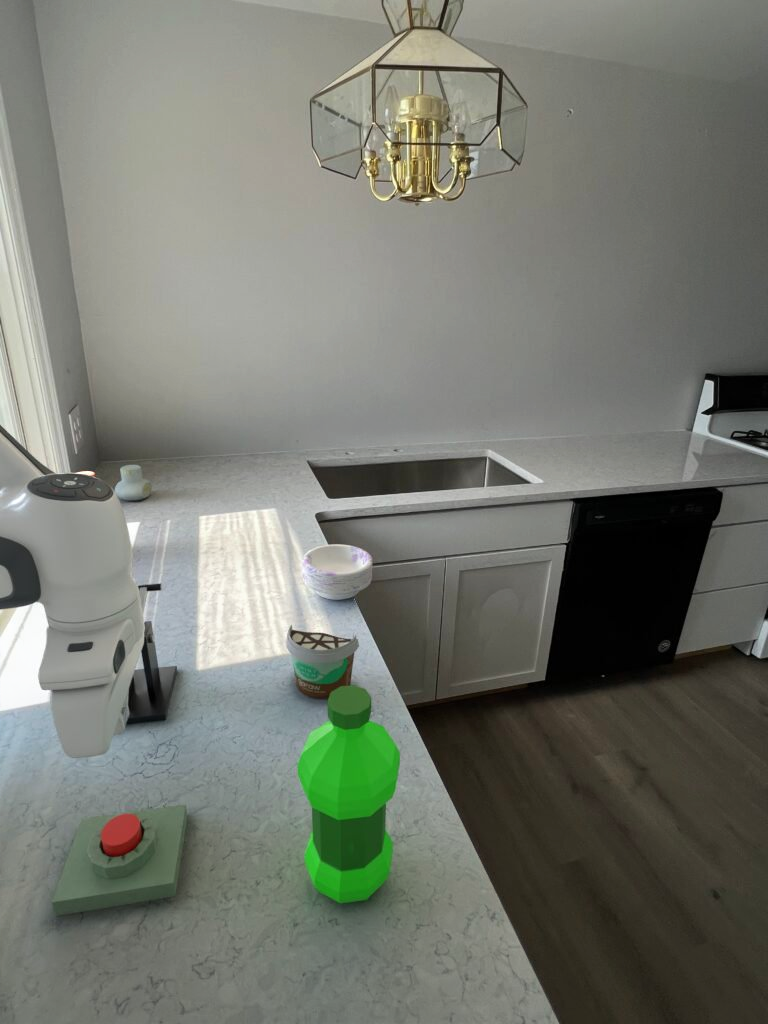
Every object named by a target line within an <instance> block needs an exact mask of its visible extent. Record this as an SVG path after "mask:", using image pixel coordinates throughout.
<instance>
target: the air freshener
mask: <svg viewBox="0 0 768 1024" xmlns="http://www.w3.org/2000/svg"><path fill="white" fill-rule="evenodd" d="M119 472H120V478H121V480H120V481H118V483H117V484H116V485H115V487H114V492H115V493H116V495H117V497H118V499H121V500H124V501H128V502H131V501H132V502H135V501H140V500H145V499H146V498H147V497H149V495H150V494H151V492H152V489H153V484H152V482H151V481H149V480H148V479H147V478H143V471H142V466H140V465H139V464H127V465H126V464H125V465H123V466H121V467H120V468H119Z"/></svg>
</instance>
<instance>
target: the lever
mask: <svg viewBox="0 0 768 1024" xmlns="http://www.w3.org/2000/svg"><path fill="white" fill-rule="evenodd" d="M137 585H138V588H139V594H140V600H141V606H142V612H143V613H145V612H144V611H145V607H146V602H147V598H148V593H149V592H158V591H159V592H160V591H162V589H163V584H162V583H147V584H145V583H144V584H137Z"/></svg>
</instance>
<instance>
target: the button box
mask: <svg viewBox="0 0 768 1024" xmlns="http://www.w3.org/2000/svg"><path fill="white" fill-rule="evenodd" d="M122 814H133V815H135V816H137V817H138V819H139V821H140V826H141V831H142V837H141V840H140V842H139V844H138V845H137V846H136V847H135V848H134V849H133V850H132V851H131V852H129V853H127V854H125V855H122V856H118V857H113V856H109V855H107V854H106V853H105V851H104V849H103V845H102V841H101V832H102V830H103V828H104V826H105V825H106V824H107V823H108V822H109V821H110V820H111V819H113V818H114V817H116V816H119V815H122ZM188 818H189V817H188V810H187V804H178V805H172V806H171V805H170V806H165V807H157V808H150V809H144V810H143V809H142V810H133V811H124V812H120V813H114V814H106V815H99V816H91V817H84V818H81V819H80V821H79V824H78V827H77V830H76V833H75V836H74V839H73V841H72V844H71V847H70V850H69V852H68V855H67V859H66V861H65V863H64V867H63V870H62V872H61V876H60V878H59V881H58V884H57V887H56V890H55V893H54V896H53V899H52V901H51V904H52V908H53V911H54V914H55V917H59V916H65V915H71V914H77V913H83V912H88V911H94V910H100V909H107V908H113V907H119V906H125V905H131V904H137V903H143V902H149V901H156V900H160V899H161V900H162V899H166V898H172V897H176V896H177V895H176V894H177V888H178V881H179V876H180V869H181V862H182V856H183V851H184V850H183V849H184V844H185V842H184V841H185V836H186V831H187V824H188Z"/></svg>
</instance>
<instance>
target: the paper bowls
mask: <svg viewBox="0 0 768 1024" xmlns="http://www.w3.org/2000/svg"><path fill="white" fill-rule="evenodd" d="M372 578H373V557H372V555H371V554H370V553H369V552H367V551H366V550H365V549H363V548H360V547H359V546H354V545H349V544H343V543H342V544H341V543H339V544H338V543H336V544H335V543H333V544H332V543H331V544H324V545H320V546H316V547H313V548H312V549H310V550H308V551H307V552H306V553H305V554H304V555H303V557H302V580H303V582H304V584H305V585H306V586H307V587H308V588H310V589H312V590H313V591H314V592H315V593H316V594H317V595H318V596H320V597H322V598H324V599H327V600H333V601H334V600H335V601H341V600H347V599H351V598H353V597H354V596H355V597H356V595H358V594H359V593H360V591H363V590H365V589H366V588H368V587H369V585H371V582H372Z"/></svg>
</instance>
